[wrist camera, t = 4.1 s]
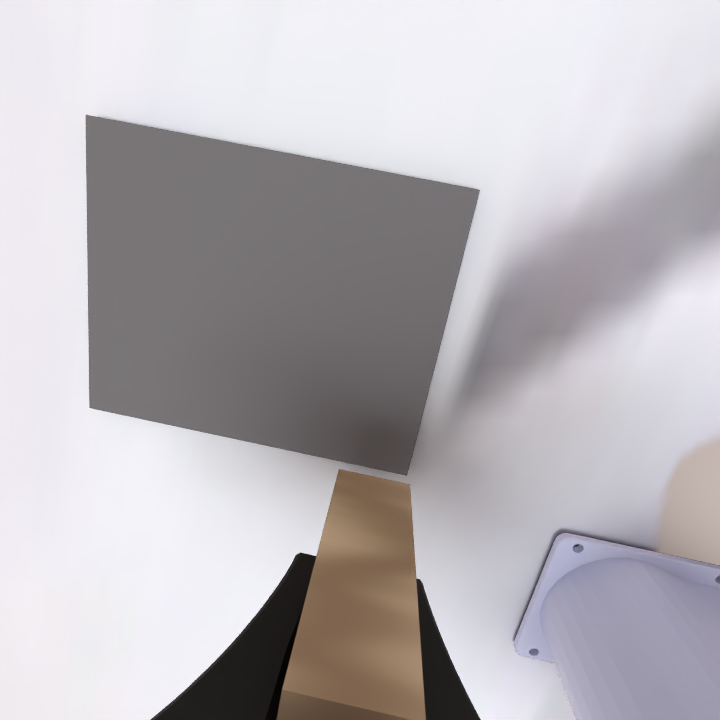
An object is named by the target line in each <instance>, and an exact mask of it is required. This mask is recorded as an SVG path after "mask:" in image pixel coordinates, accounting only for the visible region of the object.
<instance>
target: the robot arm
mask: <svg viewBox="0 0 720 720" xmlns="http://www.w3.org/2000/svg"><path fill="white" fill-rule="evenodd" d="M576 544H579V546H577V547H573V546H574V545H576ZM315 560H316V556H313V555H308V554H304V553H299V554H297V555H296V556H295V558H294V560H293V562H292V564H291V566H290V567H289V569H288V571H287V573H286V574H285V576H284V577H283V579H282V580H281V582H280V583H279V585H278V586H277V588H276V589H275V590H274V592H273V593H272V595H271V596H270V597H269V599H268V600H267V601H266V603H265V604H264V605H263V607H262V608H261V609H260V611H259V612H258V613H257V614H256V616H255V617H254V618H253V619H252V620H251V622H250V623H249V624H248V625H247V626H246V628H245V629H244V630H243V631H242V632H241V634H240V635H239V636H238V637H237V638H236V639H235V640H234V641H233V643H232V644H231V645H230V646H229V647H228V648H227V649H226V650H225V651H224V652H223V653H222V654H221V655H220V656H219V658H218V659H217V660H216V661H215V662H214V663H213V664H212V665H211V666H210V667H209V668H208V669H207V670H206V671H205V672H204V673H203V674H201V675H200V676H199V677H198V678H197V679H196V680H195V681H194V682H193V683H192V684H191V685H190V686H189V687H188V688H187V689H186V690H185V691H184V692H182V693H181V694H180V695H179V696H178V697H177V698H176V699H175V700H174V701H172V702H171V703H170V704H169V705H168V706H166V707H165V708H164V709H163V710H162V711H160V712H159V713H158V714H157V715H156V716H154V717H153V718H152V719H151V720H277V715H278V709H279V704H280V698H281V693H282V688H283V684H284V680H285V676H286V672H287V669H288V665H289V661H290V657H291V653H292V649H293V645H294V641H295V638H296V634H297V630H298V626H299V622H300V618H301V614H302V610H303V607H304V603H305V599H306V595H307V591H308V587H309V583H310V579H311V576H312V572H313V568H314V564H315ZM416 582H417V597H418V612H419V627H420V642H421V656H422V671H423V686H424V701H425V716H426V720H481V719H480V718H479V716H478V714H477V712H476V710H475V708H474V706H473V704H472V703H471V701H470V699H469V697H468V695H467V693H466V691H465V688H464V686H463V684H462V682H461V680H460V678H459V676H458V674H457V672H456V670H455V667H454V665H453V663H452V661H451V658H450V656H449V654H448V651H447V649H446V647H445V644H444V642H443V639H442V637H441V635H440V632H439V630H438V627H437V624H436V622H435V619H434V616H433V614H432V611H431V608H430V605H429V602H428V599H427V596H426V593H425V590H424V587H423V583H422V582H421V580H420V579H416ZM514 648H515V651H516V653H517V654H518V655H521V656H524V657H529V658H533V659H538V660H542V661H547V662H551V663H555V665H556V668H557V670H558V673H559V676H560V678H561V681H562V684H563V686H564V689H565V691H566V694H567V697H568V699H569V702H570V705H571V707H572V710H573V713H574V715H575V718H576V720H720V566H719V565H715V564H710V563H705V562H701V561H696V560H691V559H687V558H682V557H677V556H673V555H668V554H663V553H659V552H654V551H649V550H645V549H640V548H635V547H631V546H626V545H621V544H617V543H612V542H607V541H603V540H598V539H593V538H589V537H584V536H579V535H575V534H570V533H562V534H560V535H558V536H557V537H556V539H555V541H554V543H553V546H552V548H551V551H550V553H549V556H548V558H547V561H546V563H545V566H544V568H543V571H542V573H541V576H540V578H539V581H538V583H537V586H536V588H535V591H534V593H533V596H532V598H531V601H530V603H529V606H528V608H527V611H526V613H525V616H524V618H523V621H522V623H521V625H520V628H519V630H518V633H517V635H516V638H515V640H514Z"/></svg>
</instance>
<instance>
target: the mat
mask: <svg viewBox="0 0 720 720" xmlns="http://www.w3.org/2000/svg"><path fill="white" fill-rule="evenodd" d="M86 175H87V250H88V325H89V400H90V408H92V409H97V410H102V411H106V412H111V413H116V414H120V415H125V416H130V417H134V418H139V419H144V420H149V421H153V422H158V423H163V424H167V425H172V426H177V427H182V428H186V429H191V430H196V431H200V432H205V433H210V434H214V435H219V436H224V437H229V438H233V439H238V440H243V441H247V442H252V443H257V444H261V445H266V446H271V447H276V448H280V449H285V450H290V451H294V452H299V453H304V454H308V455H313V456H318V457H323V458H327V459H332V460H337V461H341V462H346V463H351V464H355V465H360V466H365V467H370V468H374V469H379V470H384V471H388V472H393V473H398V474H403V475H407V474H408V470H409V466H410V462H411V458H412V454H413V450H414V446H415V442H416V439H417V435H418V431H419V427H420V423H421V419H422V415H423V411H424V407H425V403H426V399H427V395H428V391H429V388H430V384H431V380H432V376H433V372H434V368H435V364H436V360H437V356H438V352H439V348H440V344H441V340H442V337H443V333H444V329H445V325H446V321H447V317H448V313H449V309H450V305H451V301H452V297H453V293H454V289H455V285H456V282H457V278H458V274H459V270H460V266H461V262H462V258H463V254H464V250H465V246H466V242H467V238H468V234H469V231H470V227H471V223H472V219H473V215H474V211H475V207H476V203H477V199H478V195H479V191H480V190H477V189H472V188H467V187H462V186H456V185H451V184H446V183H441V182H435V181H430V180H425V179H420V178H414V177H409V176H404V175H399V174H394V173H388V172H383V171H378V170H373V169H367V168H362V167H357V166H352V165H346V164H341V163H336V162H331V161H325V160H320V159H315V158H310V157H304V156H299V155H294V154H289V153H283V152H278V151H273V150H268V149H262V148H257V147H252V146H247V145H241V144H236V143H231V142H226V141H220V140H215V139H210V138H205V137H199V136H194V135H189V134H184V133H178V132H173V131H168V130H163V129H158V128H152V127H147V126H142V125H137V124H131V123H126V122H121V121H116V120H110V119H105V118H100V117H95V116H89V115H86Z"/></svg>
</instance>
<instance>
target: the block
mask: <svg viewBox="0 0 720 720" xmlns="http://www.w3.org/2000/svg"><path fill="white" fill-rule="evenodd" d="M277 720H426V716H425V701H424V686H423V671H422V656H421V642H420V627H419V612H418V597H417V582H416V568H415V553H414V538H413V523H412V508H411V494H410V484H405V483H401V482H396V481H391V480H387V479H382V478H377V477H373V476H368V475H363V474H359V473H354V472H349V471H345V470H340V469H339V471H338V475H337V479H336V482H335V486H334V490H333V494H332V498H331V502H330V506H329V510H328V513H327V517H326V521H325V525H324V529H323V533H322V537H321V541H320V545H319V548H318V552H317V556H316V560H315V564H314V568H313V572H312V576H311V579H310V583H309V587H308V591H307V595H306V599H305V603H304V607H303V610H302V614H301V618H300V622H299V626H298V630H297V634H296V638H295V641H294V645H293V649H292V653H291V657H290V661H289V665H288V669H287V672H286V676H285V680H284V684H283V688H282V693H281V698H280V704H279V709H278V715H277Z"/></svg>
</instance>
